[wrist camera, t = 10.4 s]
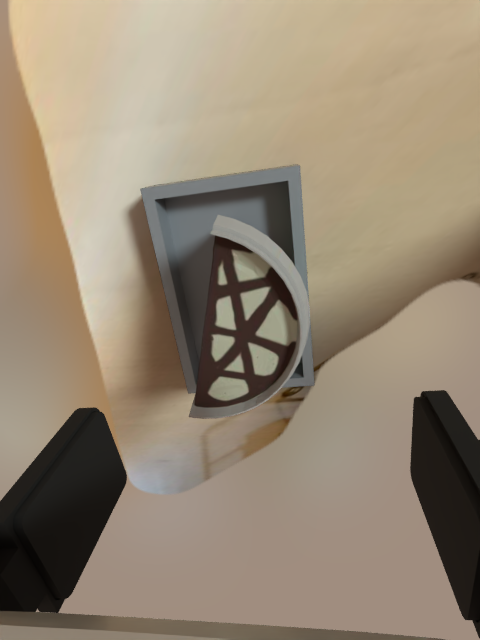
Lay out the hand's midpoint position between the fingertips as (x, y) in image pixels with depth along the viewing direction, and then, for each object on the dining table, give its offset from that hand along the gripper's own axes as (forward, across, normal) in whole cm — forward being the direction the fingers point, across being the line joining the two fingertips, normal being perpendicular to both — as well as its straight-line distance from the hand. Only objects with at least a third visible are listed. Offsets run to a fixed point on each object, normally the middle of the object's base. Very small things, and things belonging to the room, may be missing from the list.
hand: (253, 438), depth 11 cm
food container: (+19, +1, +2) cm, 19 cm away
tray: (+20, +3, +2) cm, 20 cm away
